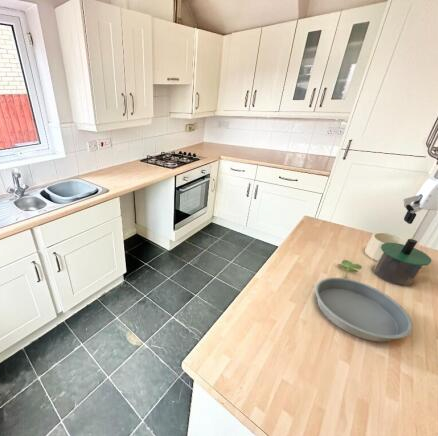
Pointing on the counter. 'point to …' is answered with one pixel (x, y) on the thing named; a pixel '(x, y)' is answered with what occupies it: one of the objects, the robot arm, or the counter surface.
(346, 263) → the seedling
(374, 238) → the tin
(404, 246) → the lid
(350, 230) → the counter surface
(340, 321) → the cake pan
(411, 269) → the cup
